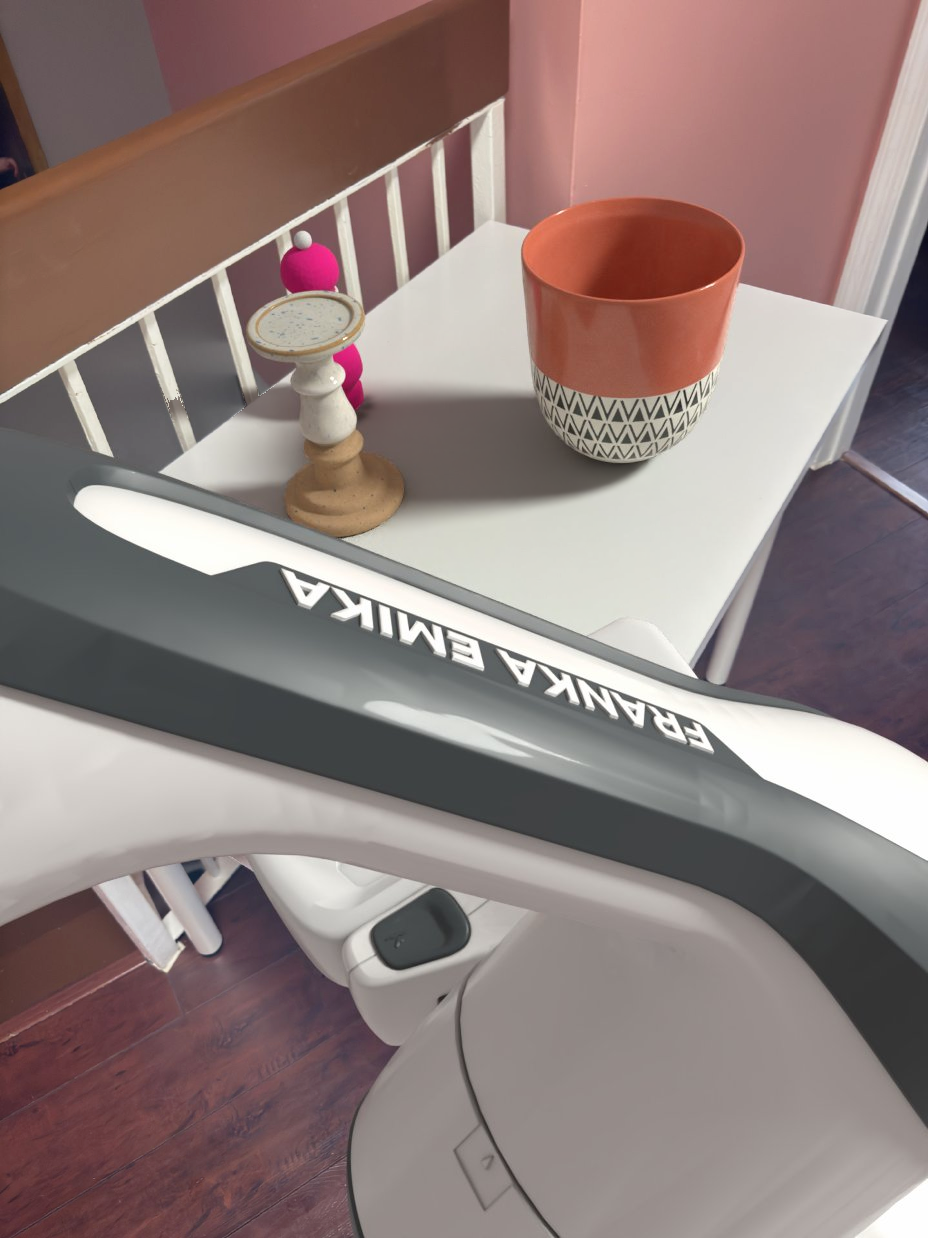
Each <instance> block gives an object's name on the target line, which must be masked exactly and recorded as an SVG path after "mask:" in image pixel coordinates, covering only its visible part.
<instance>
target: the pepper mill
mask: <svg viewBox="0 0 928 1238" xmlns="http://www.w3.org/2000/svg"><path fill="white" fill-rule="evenodd" d="M293 243H294V245H293V246H292V247H290V248H289V249H288V250H287V251H286V252H285V253H284V254H283V256H282V258H281V260H280V265H279V274H280V279H281V282H282V284H283V286H284V288H285V290H287V291H288V292H289V293H290V294H294V293H298V292H304V291H317V290H323V291H333V292H339V288H338V287H337V283H338V281H339V277H340V267H339V264H338V260H337V258H336V256H335V255H334V253H333V252H332V251H331V250H330V249H329V248H328V247H326V246H325V245H323V244H320V243H318V242H313V240H312V236H311V234H310V233H309V232H307V231H305V230H299V231H296V233H295V234H294V237H293ZM333 360H334V362H336V363H338V364H339V365H341V366H342V367H343V368H344V370H345V380H344V382H343V383H342V385H341V386H342V389H343V391H344V393H345V395H346V397H347V399H348V401H349V402H350V404H351V406H352V407H353V409H354V411H355V412H356V410H358V409H359V408H360V407H361V405H362V404H363V402H364V401H365V393H364V389H363V383H362V381H361V380H360V379H361V377H362V375H363V371H364V365H363V364H364V363H363V361H362V357H361V354H360V351H359V350H358V348H357V346H356V345H355V342H354V343H352V344H351V345H350V346H348V347H347V348H345V349H344V350H342V351H340V352H338V353H336V354H333Z"/></svg>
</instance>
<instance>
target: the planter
mask: <svg viewBox="0 0 928 1238" xmlns="http://www.w3.org/2000/svg"><path fill="white" fill-rule="evenodd" d="M745 254H746V243H745V240H744V237H743V235H742V233H741V231H740V230H739V228H738V227H736V226H735V225H734V224H733V223H732V221H731V220H729V219H727V218H726V217H724V215H722V214H719V213H717V212H716V211H713V210H711V209H709V208H706V207H705V206H701V205H699V204H696V203H691V202H688V201H682V200H678V199H672V198H666V197H665V198H664V197H655V196H619V197H618V196H617V197H609V198H602V199H595V200H591V201H586V202H582V203H578V204H575V205H572V206H569V207H566V208H563V209H561V210H559V211H557V212H554V213H552V214H550V215H549V216H548V215H547V217H545V218H543V219H542V220H540V221H539V222H538V223H537V224H535V225H534V226H533V227H532V228H531V229H530V230H529V231H528V233H527V234H526V236H525V237H524V239H523V240H522V244H521V248H520V262H521V264H520V265H521V277H522V278H521V279H522V287H523V298H524V306H525V307H524V308H525V320H526V321H525V322H526V333H527V343H528V344H527V345H528V353H529V362H530V372H531V373H530V374H531V379H532V385H533V390H534V393H535V396H536V400H537V403H538V407H539V408H540V411H541V413H542V416H543V417H544V419H545V421H546V423H547V425H548V426H549V427H550V428H551V430H552V432H553V433H554V434H555V435H556V436H557V437H558V438H559V439H560V440H561V441H562V442H563V443H564V444H565V445H567V446H568V447H570V448H571V449H573V450H574V451H575V452H578V453H580V454H582V455H584V456H586V457H587V458H591V459H594V460H597V461H601V462H604V463H605V462H606V463H612V464H629V463H636V462H641V461H645V460H649V459H652V458H654V457H656V456H659V455H661V454H663V453H665V452H667V451H668V450H670V449H672V448H673V447H675V446H676V445H678V444H679V443H680V442H681V441H683V440H684V439H685V438H687V436H688V435H689V434H691V432H692V431H693V430H694V429H695V428H696V426H697V425H698V423H700V421H701V420H702V418H703V415H704V414H705V412H706V410H707V408H708V406H709V404H710V402H711V399H712V397H713V395H714V392H715V389H716V386H717V382H718V379H719V375H720V371H721V367H722V362H723V357H724V353H725V349H726V344H727V340H728V336H729V330H730V326H731V321H732V317H733V311H734V308H735V307H734V306H735V302H736V299H737V294H738V291H739V290H738V289H739V286H740V285H739V284H740V279H741V276H742V270H743V264H744V259H745Z"/></svg>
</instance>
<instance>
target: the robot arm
mask: <svg viewBox="0 0 928 1238" xmlns="http://www.w3.org/2000/svg"><path fill="white" fill-rule="evenodd" d="M235 856H245V858H246V860H247V862H248V864H249V866H250V869H251V870H252V872H253V874H254V875H255V877H256V879H257V882H258V883H259V886H261V888H262V890H263V891H264V893H265V895H266V896H267V898H268V900H269V901H270V903H271V904H272V906H273V908H274V910H275V911H276V913H277V914H278V916H279V918H280V919H281V921H282V923H283V924H284V925H285V927H286V928H287V930H288V932H289V933H290V935H291V936H292V937H293V939H294V941H295V942H296V943H297V945H298V946H299V947H300V949H301V950H302V951H303V953H304V954H305V955H306V956H307V958H308V959H309V961H310V962H311V963H312V965H314V966H315V968H317V970H318V971H319V972H320V973H321V974H322V975H324V976H325V978H327V979H328V980H330V981H331V982H334V983H336V984H337V985H339V986H342V987H346V988H348V989H349V992H350V995H351V997H352V1000H353V1002H354V1004H355V1006H356V1009H357V1011H358V1012H359V1014H360V1015H361V1017H362V1020H363V1021H364V1022H365V1023H366V1025H367V1027H368V1028H369V1029H370V1031H371V1032H373V1034H374V1035H376V1036H377V1038H379V1039H380V1040H381V1041H382V1042H383V1043H384V1044H386V1045H388V1046H393V1047H398V1048H397V1050H395V1052H394V1053H393V1055H392V1056H391V1058H389V1060H388V1061H387V1063H386V1064H385V1066H384V1067H383V1069H381V1072H380V1073H379V1074H378V1076H377V1078H376V1079H375V1080H374V1082H373V1084H372V1086H371V1087H370V1089H368V1090H367V1091H366V1092H365V1094H364V1096H363V1097H362V1098H361V1100H360V1101H359V1103H358V1105H357V1107H356V1109H355V1111H354V1114H353V1116H352V1119H351V1124H350V1127H349V1133H348V1138H347V1148H346V1149H347V1150H346V1164H345V1165H346V1166H345V1180H346V1196H347V1197H346V1198H347V1199H346V1200H347V1207H348V1214H349V1220H350V1226H351V1231H352V1234H353V1238H928V761H926V760H925V759H924V758H922V757H920V756H919V755H917V754H915V753H913V752H912V751H911V750H909V749H907V748H906V747H903V746H902V745H900V744H898V743H896V742H895V741H893V740H890V739H888V738H886V737H884V736H881V735H880V734H878V733H875V732H873V731H871V730H869V729H866V728H865V727H861V726H858V725H855V724H853V723H849V722H846V721H843V720H840V719H838V718H836V717H834V716H832V715H830V714H828V713H827V712H826V713H825V712H823V711H821V710H818V709H817V708H813V707H811V706H808V705H805V704H802V703H799V702H796V701H792V700H789V699H784V698H780V697H777V696H772V695H771V696H770V695H765V694H762V693H761V694H760V693H756V692H752V691H747V690H742V689H737V688H732V687H728V686H724V685H720V684H717V683H713V682H709V681H707V680H706V681H705V680H702V679H699V677H698V676H697V675H696V673H695V671H694V670H693V669H692V668H691V666H690V665H689V663H688V662H687V661H686V660H685V659H684V657H683V656H682V654H680V651H678V650H677V648H676V647H675V646H674V645H673V644H672V642H670V640H669V639H668V638H667V637H666V636H665V635H664V634H663V632H661V630H660V629H659V628H658V627H657V626H655V625H654V624H653V623H652V622H648V621H645V620H642V619H638V618H633V617H629V616H628V617H627V616H625V617H620V618H618V619H616V620H613V621H612V622H610V623H608V624H606V625H605V626H603V627H601V628H599V629H596V630H595V631H593V632H591V633H589V634H587V635H584V634H582V633H579V632H577V631H574V630H572V629H569V628H567V627H564V626H561V625H559V624H557V623H554V622H553V621H552V622H551V621H549V620H547V619H544V618H542V617H538V616H536V615H534V614H532V613H529V612H526V611H524V610H522V609H519V608H517V607H514V606H511V605H509V604H506V603H504V602H501V601H499V600H496V599H494V598H492V597H489V596H486V595H484V594H481V593H478V592H476V591H473V590H470V589H468V588H466V587H463V586H461V585H458V584H456V583H453V582H451V581H448V580H445V579H443V578H441V577H438V576H435V575H433V574H431V573H428V572H425V571H423V570H420V569H419V568H416V567H413V566H411V565H407V564H405V563H402V562H400V561H397V560H394V559H392V558H389V557H387V556H384V555H381V554H379V553H377V552H374V551H372V550H369V549H367V548H365V547H362V546H359V545H357V544H354V543H352V542H349V541H347V540H344V539H341V538H340V537H334V536H331V535H328V534H326V533H323V532H321V531H318V530H315V529H313V528H310V527H307V526H305V525H302V524H299V523H297V522H294V521H292V519H289V518H286V517H283V516H281V515H278V514H275V513H272V512H270V511H268V510H264V509H262V508H259V507H256V506H254V505H251V504H248V503H245V502H242V501H240V500H237V499H234V498H231V497H229V496H226V495H223V494H220V493H219V492H215V491H212V490H209V489H206V488H203V487H201V486H197V485H195V484H192V483H190V482H186V481H185V480H184V481H183V480H181V479H179V478H176V477H172V476H170V475H167V474H164V473H161V472H158V471H156V470H154V469H153V470H152V469H149V468H147V467H144V466H140V465H138V464H135V463H132V462H129V461H126V460H124V459H121V458H118V457H114V456H111V455H107V454H104V453H101V452H98V451H95V450H91V449H90V448H85V447H82V446H78V445H75V444H71V443H67V442H64V441H60V440H57V439H52V438H48V437H45V436H40V435H38V434H33V433H29V432H24V431H20V430H16V429H13V428H8V427H3V426H0V927H2V926H4V925H6V924H8V923H11V922H13V921H15V920H17V919H19V918H21V917H23V916H26V915H28V914H30V913H32V912H35V911H37V910H39V909H41V908H43V907H46V906H47V905H50V904H52V903H55V902H57V901H59V900H62V899H64V898H67V897H70V896H72V895H75V894H77V893H80V892H83V891H86V890H88V889H90V888H93V887H96V886H99V885H101V884H104V883H107V882H110V881H113V880H118V879H121V878H124V877H129V876H132V875H135V874H138V873H141V872H145V871H148V870H153V869H156V868H161V867H166V866H167V867H168V866H172V865H177V864H182V863H187V862H191V861H197V860H202V859H211V858H223V857H224V858H225V857H235Z"/></svg>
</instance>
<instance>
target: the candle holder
mask: <svg viewBox="0 0 928 1238" xmlns="http://www.w3.org/2000/svg"><path fill="white" fill-rule="evenodd" d="M365 326H366V315H365V311H364V308H363V306H362V304H361V303H360V302H359V301H358V300H357V299H355V298H354V297H352V296H350V295H348V294H346V293H342V292H339V291H338V292H333V291H323V290H317V291H304V292H298V293H294V294H292V293H290V294H286V295H283V296H281V297H278V298H275V299H274V300H271V301H269V302H268V303H266V304H264V305H263V306H260V308H259V309H257V310H256V311H255V312H254V313H253V314H252V315H251V316H250V318H249V319H248V321H247V323H246V327H245V337H246V340H247V342H248V345H249V346H250V347H251V349H252V350H253V351H254V352H255V353H256V354H258V355H259V356H261V357H263V358H265V359H268V360H271V361H274V362H281V363H294V364H295V370H294V371H293V372H292V374H291V376H290V386H291V387H292V389H293V390H294V391H295V392H297V393H298V394H299V396H300V410H299V418H298V419H299V421H298V425H299V430H300V432H301V434H302V435H303V437H304V438H305V440H304V442H303V446H302V447H303V454H304V455H305V457H306V458H307V459H308V460H309V461H310V462H308V463H306V464H305V465H304V466H302V467H301V468H299V470H297V472H295V474H294V475H293V476H292V477H291V478H290V480H289V482H288V483H287V485H286V488H285V491H284V508H285V510H286V512H287V515H288V516H289V518H290V520H292V521H294V522H297V523H299V524H302V525H305V526H307V527H310V528H313V529H315V530H318V531H321V532H323V533H326V534H328V535H331V536H334V537H336V538H340V537H342V538H343V537H349V536H354V535H359V534H362V533H366V532H367V531H370V530H372V529H375V528H377V527H379V526H380V525H382V524H383V523H386V522H387V520H389V519H390V518H391V517H392V516H393V515H394V514H395V513H396V512H397V510H398V509H399V508H400V506H401V503H402V502H403V499H404V495H405V481H404V478H403V475H402V473H401V471H400V470H399V468H398V467H397V466H396V465H395V464H394V463H393V462H392V461H390V459H387V458H386V457H384V456H383V455H382V456H381V455H379V454H376V453H373V452H368V451H362V449H363V447H364V438H363V437H364V436H363V435H362V433H361V432H360V431H359V430H358V428H356V427H357V423H358V416H357V414H356V413H357V412H356V410H355V411H354V409H353V407H352V406H351V404H350V402H349V401H348V399H347V397H346V395H345V393H344V391H343V389H342V386H341V385H342V383H343V382H344V380H345V370H344V368H343V367H342V366H341V365H339V364H338V363H336V362H334V360H333V354H336V353H338V352H340V351H342V350H344V349H345V348H347V347H348V346H350V345H351V344H352V343H354V344H355V342H357V340H358V339H359V338H360V337H361V335H362V333H363V332H364V329H365Z"/></svg>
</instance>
